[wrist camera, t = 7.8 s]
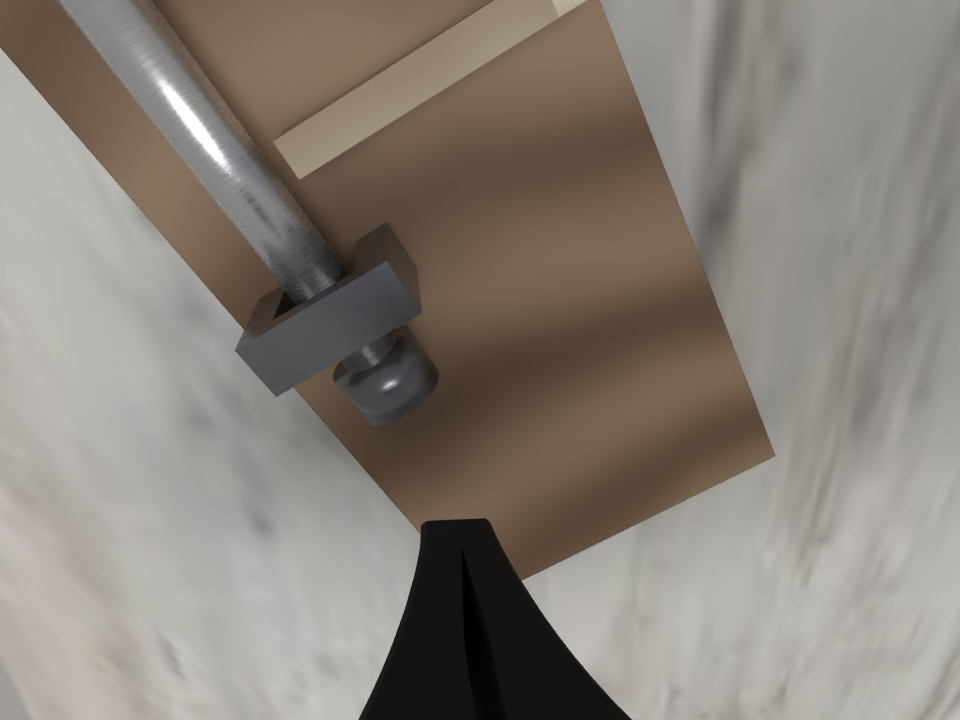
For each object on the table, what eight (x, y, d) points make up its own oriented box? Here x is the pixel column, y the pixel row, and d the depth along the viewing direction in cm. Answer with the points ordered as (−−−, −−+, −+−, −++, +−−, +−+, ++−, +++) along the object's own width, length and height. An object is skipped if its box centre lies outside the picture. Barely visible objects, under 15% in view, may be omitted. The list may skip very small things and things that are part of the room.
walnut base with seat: (759, 437, 25) (806, 490, 22) (475, 578, 26) (485, 644, 24) (319, -673, 11) (295, -908, 8) (-207, -231, 13) (-372, -301, 10)
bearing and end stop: (417, 268, 18) (422, 313, 15) (293, 339, 19) (275, 396, 16) (3, -366, 12) (-126, -496, 9) (-170, -223, 12) (-344, -299, 9)
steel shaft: (436, 352, 19) (442, 396, 17) (366, 391, 20) (362, 439, 17) (23, -248, 12) (-62, -310, 10) (-76, -168, 12) (-182, -211, 10)
